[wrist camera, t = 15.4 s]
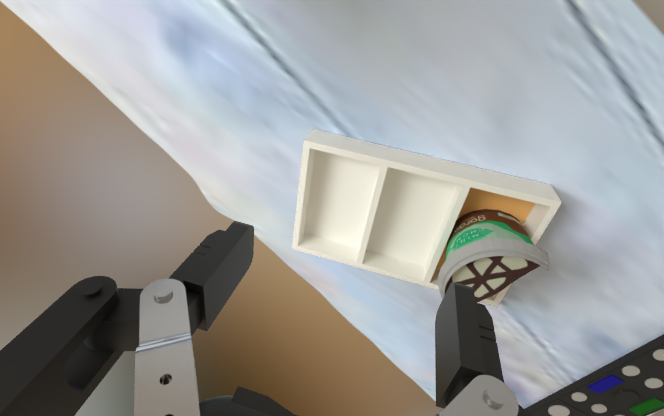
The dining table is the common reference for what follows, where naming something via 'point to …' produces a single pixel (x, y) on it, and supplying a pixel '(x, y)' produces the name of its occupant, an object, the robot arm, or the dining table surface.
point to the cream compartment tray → (400, 206)
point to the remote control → (613, 388)
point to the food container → (488, 253)
